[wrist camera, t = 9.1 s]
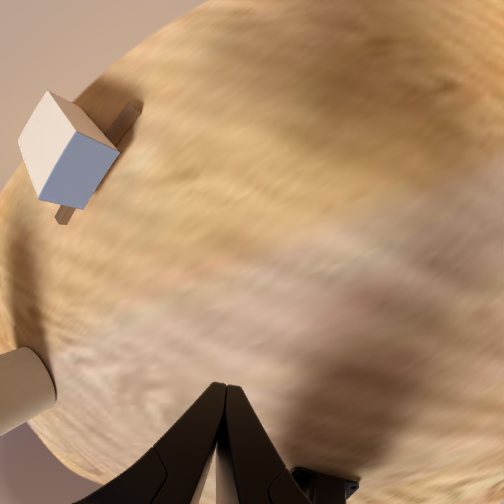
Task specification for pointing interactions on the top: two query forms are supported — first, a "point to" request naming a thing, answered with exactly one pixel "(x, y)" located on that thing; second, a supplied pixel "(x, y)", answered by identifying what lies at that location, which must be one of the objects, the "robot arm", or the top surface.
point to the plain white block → (65, 152)
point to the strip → (114, 137)
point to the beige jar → (23, 388)
